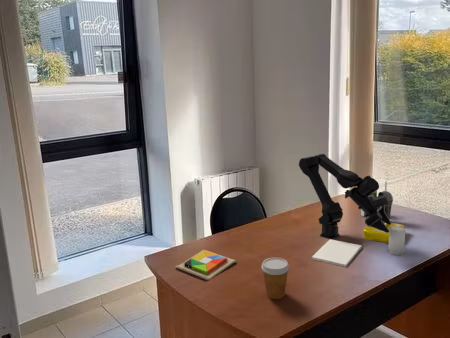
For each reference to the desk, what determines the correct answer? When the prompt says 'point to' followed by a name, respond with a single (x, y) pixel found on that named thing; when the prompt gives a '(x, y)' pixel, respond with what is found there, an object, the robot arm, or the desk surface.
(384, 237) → the element tile
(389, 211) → the beverage cup
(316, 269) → the desk surface
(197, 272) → the wooden puzzle
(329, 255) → the notebook
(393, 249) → the grey cylinder
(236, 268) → the desk surface
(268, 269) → the disposable coffee cup
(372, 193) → the coffee box
